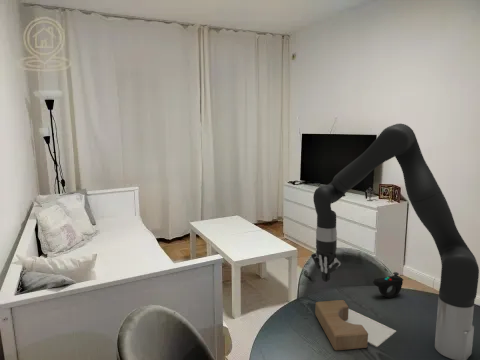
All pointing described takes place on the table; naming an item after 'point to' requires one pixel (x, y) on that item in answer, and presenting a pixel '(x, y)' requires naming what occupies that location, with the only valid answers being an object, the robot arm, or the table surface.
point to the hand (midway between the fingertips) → (325, 280)
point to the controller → (387, 282)
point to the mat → (371, 328)
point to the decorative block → (340, 326)
